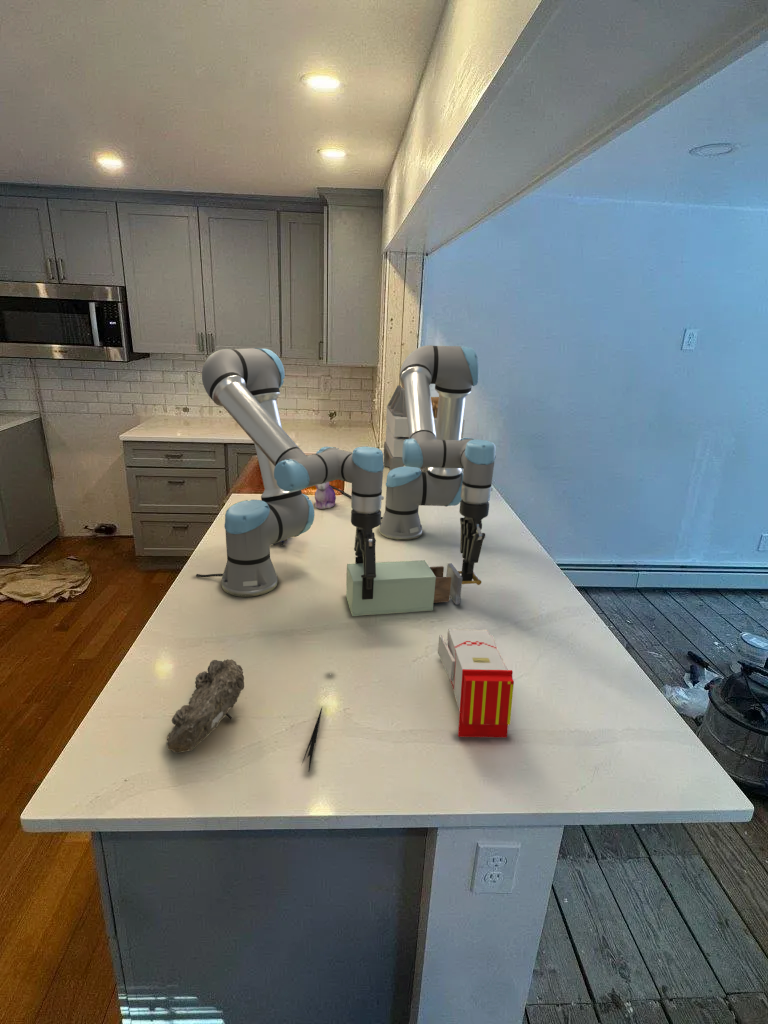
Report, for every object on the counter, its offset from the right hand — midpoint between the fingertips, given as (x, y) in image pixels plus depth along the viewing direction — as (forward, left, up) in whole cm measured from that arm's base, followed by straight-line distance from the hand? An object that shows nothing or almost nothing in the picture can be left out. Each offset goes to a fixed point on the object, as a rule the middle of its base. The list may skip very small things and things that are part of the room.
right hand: (466, 581), depth 155 cm
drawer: (-5, -9, -4) cm, 11 cm away
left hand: (-14, -25, 0) cm, 29 cm away
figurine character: (-65, -19, -5) cm, 68 cm away
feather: (+16, -59, -5) cm, 62 cm away
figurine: (-85, +13, -5) cm, 86 cm away
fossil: (+3, -75, -5) cm, 75 cm away
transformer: (-99, +78, -5) cm, 126 cm away
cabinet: (-10, -19, -5) cm, 22 cm away
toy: (+28, -30, -5) cm, 41 cm away
